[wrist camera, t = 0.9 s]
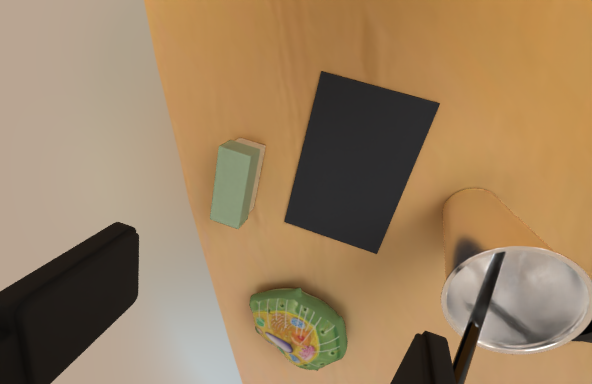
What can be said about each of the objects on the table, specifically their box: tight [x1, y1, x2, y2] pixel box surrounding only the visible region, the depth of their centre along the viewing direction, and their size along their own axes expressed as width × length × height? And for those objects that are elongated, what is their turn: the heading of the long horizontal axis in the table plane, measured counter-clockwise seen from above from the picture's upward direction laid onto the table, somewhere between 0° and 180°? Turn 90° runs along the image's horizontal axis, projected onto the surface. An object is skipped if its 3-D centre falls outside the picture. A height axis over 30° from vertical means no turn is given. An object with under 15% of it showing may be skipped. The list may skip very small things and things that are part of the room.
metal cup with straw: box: [441, 188, 592, 384], centre depth 25 cm, size 11×11×30 cm
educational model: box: [250, 288, 347, 371], centre depth 49 cm, size 13×16×6 cm
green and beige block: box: [210, 138, 266, 229], centre depth 42 cm, size 10×4×6 cm, turn 167°
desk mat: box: [284, 71, 440, 254], centre depth 40 cm, size 20×13×1 cm, turn 167°
